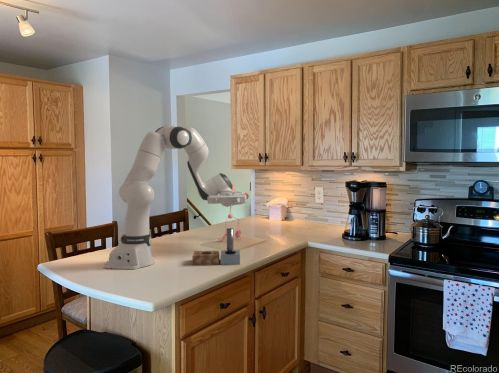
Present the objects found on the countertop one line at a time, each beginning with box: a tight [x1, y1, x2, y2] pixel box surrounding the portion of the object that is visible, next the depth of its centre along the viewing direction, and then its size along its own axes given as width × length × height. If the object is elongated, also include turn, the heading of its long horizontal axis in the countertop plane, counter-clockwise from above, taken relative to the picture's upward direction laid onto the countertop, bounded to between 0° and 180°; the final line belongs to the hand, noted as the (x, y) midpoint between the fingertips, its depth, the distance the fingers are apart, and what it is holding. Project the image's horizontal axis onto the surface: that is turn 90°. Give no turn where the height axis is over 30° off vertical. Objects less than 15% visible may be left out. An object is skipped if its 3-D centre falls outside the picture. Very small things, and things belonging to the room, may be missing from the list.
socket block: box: [220, 249, 241, 266], centre depth 183 cm, size 9×9×4 cm
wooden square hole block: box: [192, 250, 220, 266], centre depth 183 cm, size 12×9×4 cm
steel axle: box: [226, 227, 235, 254], centre depth 183 cm, size 3×3×16 cm
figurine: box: [212, 183, 250, 242], centre depth 232 cm, size 15×26×35 cm, turn 130°
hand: (226, 201), depth 192 cm, fingers open, 8 cm apart
